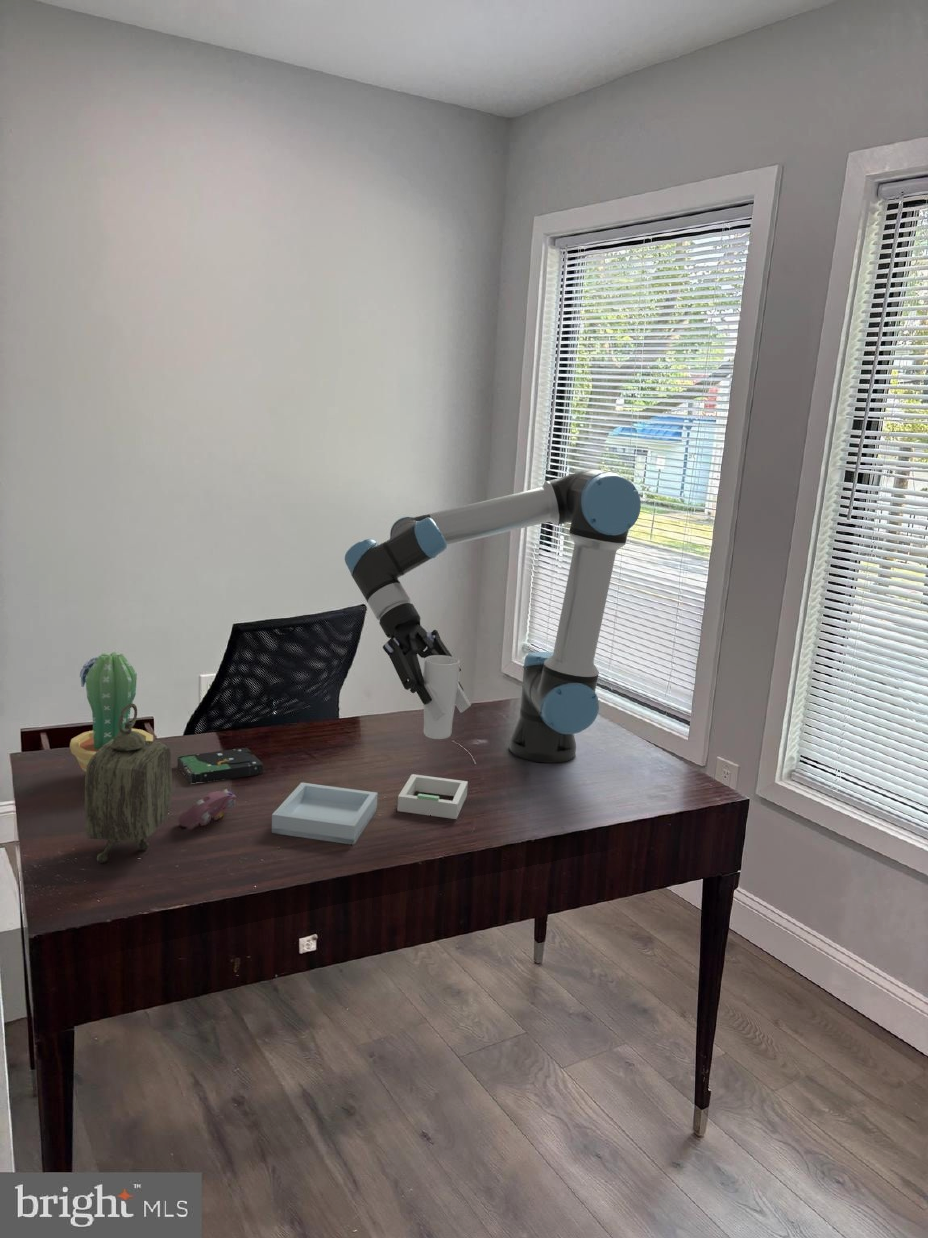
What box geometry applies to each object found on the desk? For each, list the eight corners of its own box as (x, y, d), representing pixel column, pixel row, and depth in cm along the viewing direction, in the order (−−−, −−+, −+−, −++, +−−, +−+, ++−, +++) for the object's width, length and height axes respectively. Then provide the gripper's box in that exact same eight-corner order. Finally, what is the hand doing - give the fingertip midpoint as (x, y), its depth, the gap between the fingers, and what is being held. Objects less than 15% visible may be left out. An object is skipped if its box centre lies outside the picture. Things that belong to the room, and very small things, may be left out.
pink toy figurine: (190, 840, 161) (203, 812, 158) (174, 822, 163) (186, 794, 160) (231, 821, 169) (244, 794, 167) (216, 804, 171) (228, 777, 168)
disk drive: (246, 759, 196) (176, 768, 188) (246, 746, 196) (176, 755, 188) (263, 776, 188) (191, 787, 180) (264, 763, 187) (191, 773, 179)
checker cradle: (466, 795, 184) (468, 778, 183) (456, 819, 173) (457, 801, 172) (411, 788, 186) (412, 771, 185) (397, 811, 175) (398, 793, 174)
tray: (376, 810, 174) (377, 792, 174) (353, 844, 160) (354, 826, 159) (300, 799, 177) (301, 782, 176) (271, 833, 162) (272, 814, 162)
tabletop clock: (122, 828, 160) (120, 690, 155) (173, 832, 160) (173, 694, 155) (86, 868, 146) (82, 718, 141) (142, 872, 146) (141, 722, 141)
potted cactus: (143, 759, 191) (141, 642, 185) (164, 787, 178) (163, 662, 173) (62, 771, 182) (59, 649, 177) (79, 801, 170) (75, 670, 164)
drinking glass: (414, 731, 178) (418, 655, 174) (446, 728, 181) (451, 654, 177) (427, 743, 172) (432, 665, 169) (460, 739, 175) (465, 663, 171)
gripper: (418, 616, 189) (474, 712, 182) (347, 629, 174) (406, 734, 168) (439, 595, 185) (497, 692, 178) (368, 607, 170) (429, 713, 163)
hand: (453, 712), depth 173 cm, fingers closed on drinking glass, 7 cm apart
